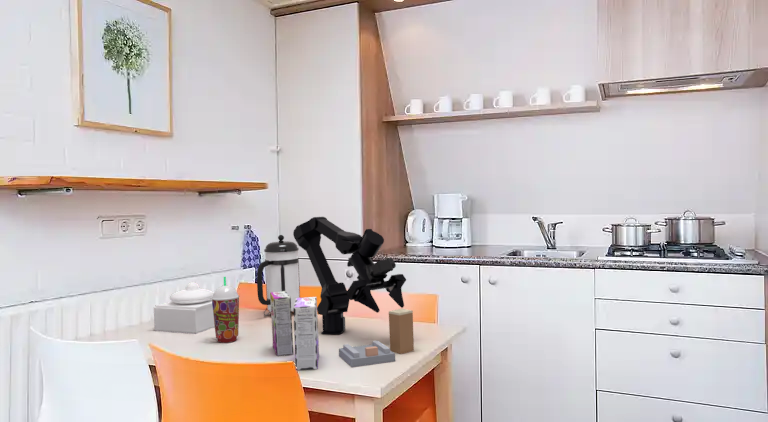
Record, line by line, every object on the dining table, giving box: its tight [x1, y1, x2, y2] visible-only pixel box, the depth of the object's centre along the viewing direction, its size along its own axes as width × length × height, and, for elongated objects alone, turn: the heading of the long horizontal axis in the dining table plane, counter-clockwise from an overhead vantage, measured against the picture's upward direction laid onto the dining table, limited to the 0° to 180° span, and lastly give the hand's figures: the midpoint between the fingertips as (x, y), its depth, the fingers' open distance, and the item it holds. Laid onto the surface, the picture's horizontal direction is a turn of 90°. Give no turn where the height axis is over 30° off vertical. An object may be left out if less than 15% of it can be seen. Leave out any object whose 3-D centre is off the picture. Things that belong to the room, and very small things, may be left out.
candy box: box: [293, 296, 320, 371], centre depth 157 cm, size 14×6×16 cm, turn 5°
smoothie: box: [211, 276, 240, 344], centre depth 185 cm, size 8×8×20 cm
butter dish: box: [153, 281, 215, 335], centre depth 207 cm, size 18×18×16 cm
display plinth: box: [338, 340, 396, 368], centre depth 159 cm, size 12×12×4 cm
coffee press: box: [256, 234, 301, 316], centre depth 222 cm, size 17×16×30 cm
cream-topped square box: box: [388, 308, 415, 355], centre depth 166 cm, size 4×5×11 cm
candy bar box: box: [270, 291, 294, 357], centre depth 170 cm, size 11×5×16 cm, turn 17°
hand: (391, 309), depth 169 cm, fingers open, 9 cm apart
